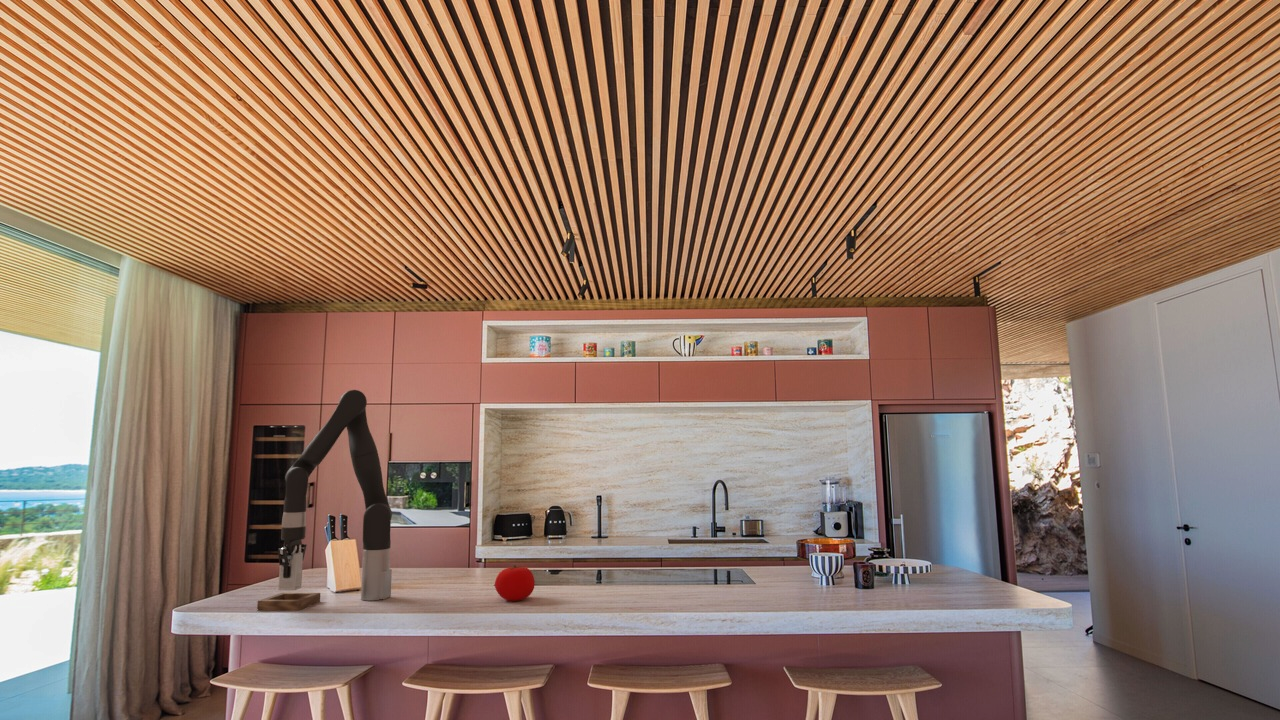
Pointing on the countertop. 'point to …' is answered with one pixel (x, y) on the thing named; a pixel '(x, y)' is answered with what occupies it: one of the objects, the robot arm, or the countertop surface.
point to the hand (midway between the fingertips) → (290, 576)
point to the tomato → (515, 583)
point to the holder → (288, 601)
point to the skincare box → (292, 574)
